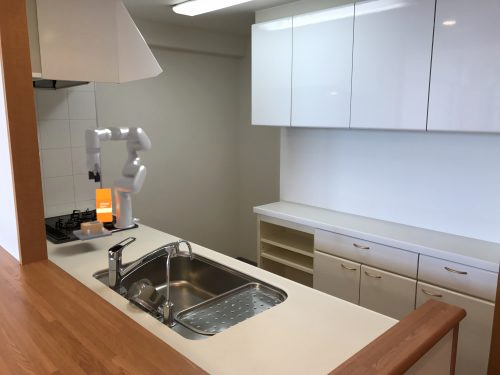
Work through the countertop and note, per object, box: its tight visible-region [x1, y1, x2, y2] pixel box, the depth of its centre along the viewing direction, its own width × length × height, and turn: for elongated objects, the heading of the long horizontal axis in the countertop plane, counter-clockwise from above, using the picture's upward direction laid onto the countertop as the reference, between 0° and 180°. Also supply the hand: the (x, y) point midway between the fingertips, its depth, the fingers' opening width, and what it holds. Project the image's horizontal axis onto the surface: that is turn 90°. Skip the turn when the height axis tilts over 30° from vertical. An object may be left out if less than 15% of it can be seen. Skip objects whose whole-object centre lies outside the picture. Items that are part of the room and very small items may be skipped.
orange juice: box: [95, 188, 113, 223], centre depth 256 cm, size 8×9×20 cm
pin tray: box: [72, 226, 113, 242], centre depth 226 cm, size 16×16×4 cm
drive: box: [80, 220, 104, 235], centre depth 225 cm, size 10×6×5 cm, turn 129°
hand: (94, 180), depth 235 cm, fingers open, 9 cm apart
